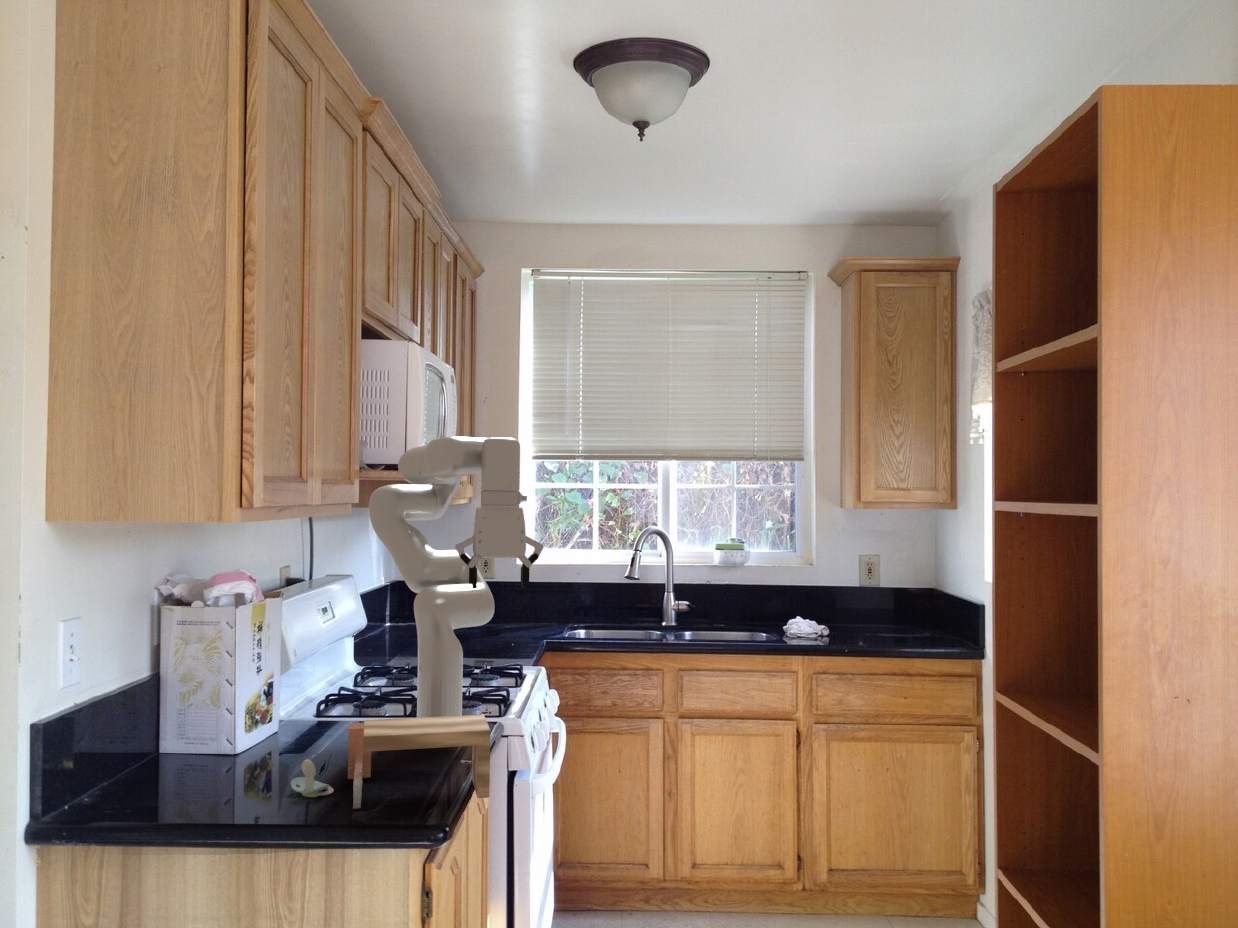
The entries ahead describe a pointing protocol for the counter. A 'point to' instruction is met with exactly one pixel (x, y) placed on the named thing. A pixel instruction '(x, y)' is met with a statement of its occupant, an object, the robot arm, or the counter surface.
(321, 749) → the counter surface
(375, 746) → the oak shelf
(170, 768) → the counter surface
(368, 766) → the orange-brown mallet
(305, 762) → the pacifier
